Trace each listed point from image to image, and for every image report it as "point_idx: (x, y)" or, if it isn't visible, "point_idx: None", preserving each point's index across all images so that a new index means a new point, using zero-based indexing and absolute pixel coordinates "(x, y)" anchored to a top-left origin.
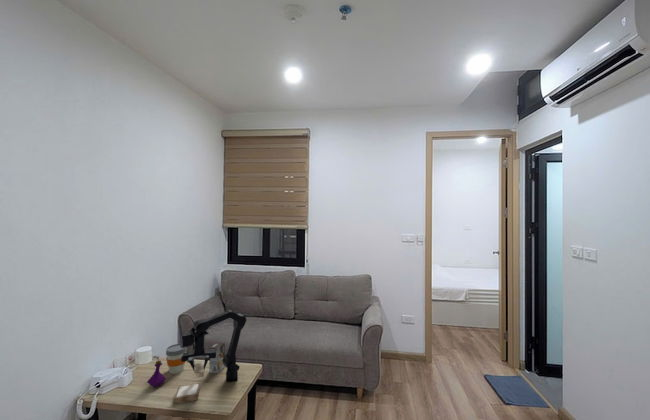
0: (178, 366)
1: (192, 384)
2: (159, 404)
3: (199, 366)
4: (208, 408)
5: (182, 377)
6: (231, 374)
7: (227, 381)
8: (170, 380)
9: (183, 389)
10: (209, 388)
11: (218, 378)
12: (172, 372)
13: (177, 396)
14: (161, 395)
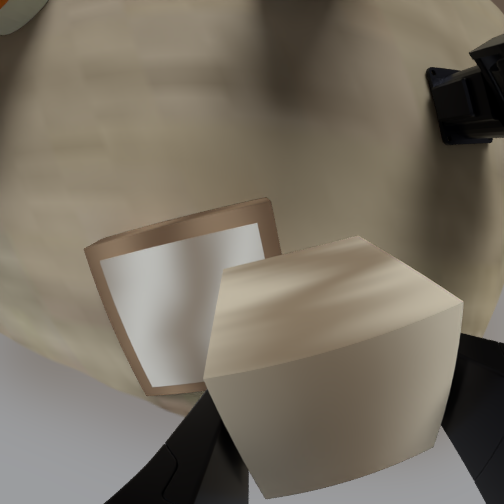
0: (10, 2)
1: (195, 223)
2: (77, 361)
3: (363, 470)
4: None
5: (64, 50)
6: (496, 136)
7: (448, 144)
8: (9, 100)
9: (150, 307)
10: (344, 210)
11: (369, 69)
12: (4, 32)
13: (157, 386)
14: (31, 276)
